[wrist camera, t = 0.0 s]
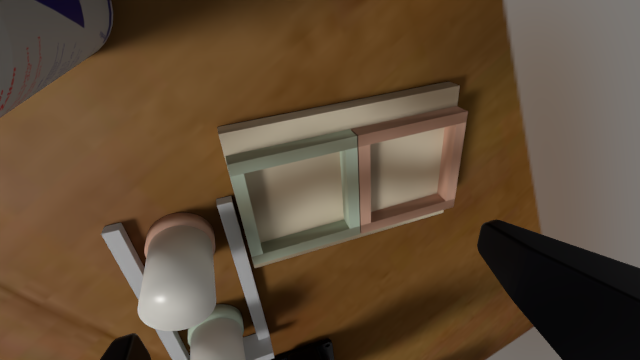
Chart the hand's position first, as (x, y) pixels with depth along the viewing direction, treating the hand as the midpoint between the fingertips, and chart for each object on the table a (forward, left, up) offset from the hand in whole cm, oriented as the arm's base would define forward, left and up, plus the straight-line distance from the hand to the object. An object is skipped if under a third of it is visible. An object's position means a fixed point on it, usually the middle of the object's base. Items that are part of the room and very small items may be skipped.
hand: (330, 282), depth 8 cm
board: (-6, -6, -15) cm, 17 cm away
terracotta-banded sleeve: (-8, +6, -15) cm, 18 cm away
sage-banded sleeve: (-18, +6, -15) cm, 24 cm away
